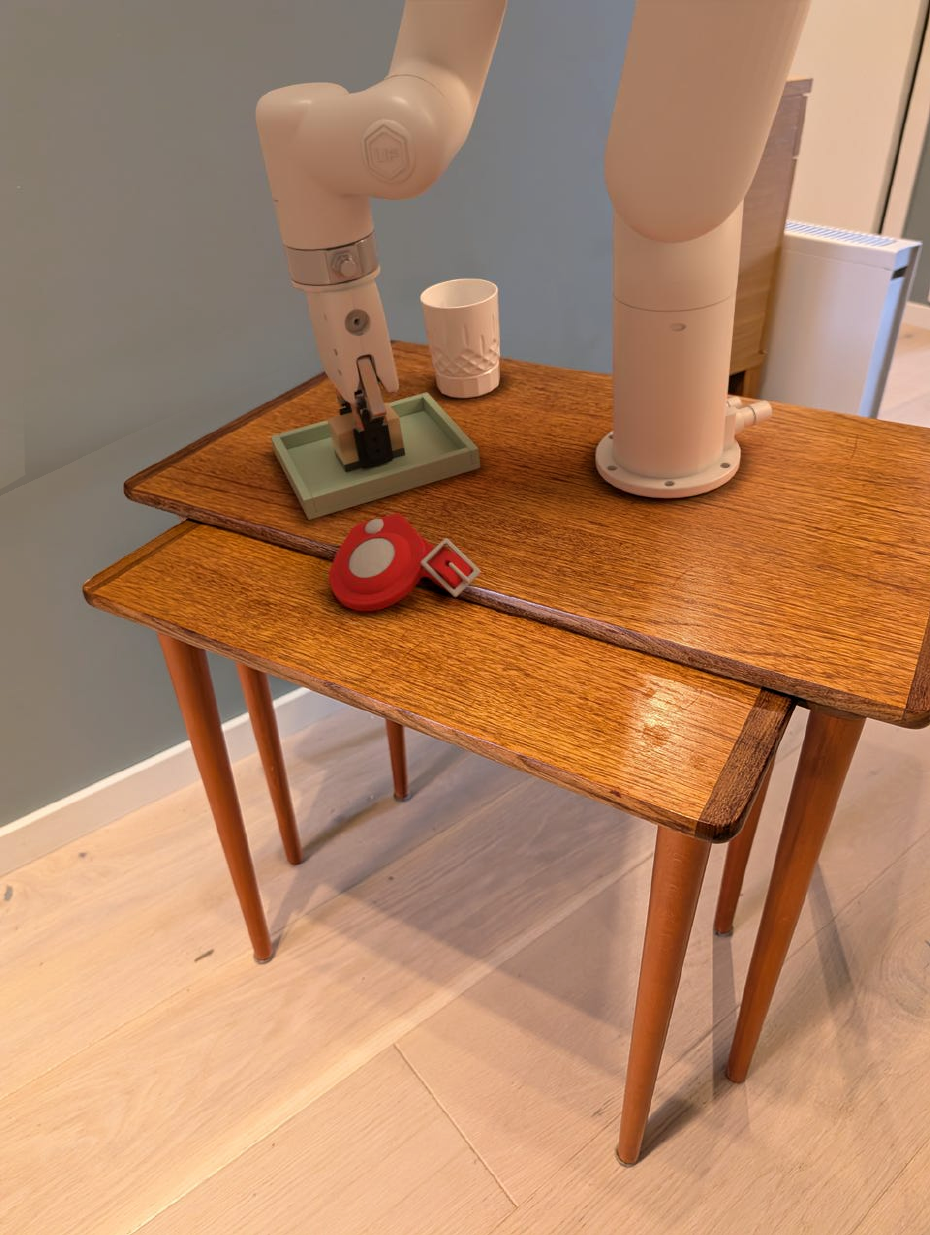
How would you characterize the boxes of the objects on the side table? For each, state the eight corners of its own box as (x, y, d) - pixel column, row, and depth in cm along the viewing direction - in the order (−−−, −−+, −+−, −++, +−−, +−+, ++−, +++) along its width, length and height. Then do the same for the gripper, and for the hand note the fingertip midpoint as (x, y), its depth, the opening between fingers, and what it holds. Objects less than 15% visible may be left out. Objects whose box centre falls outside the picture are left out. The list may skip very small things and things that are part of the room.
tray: (430, 410, 93) (427, 391, 92) (480, 468, 83) (478, 448, 82) (275, 454, 89) (270, 435, 88) (308, 520, 79) (303, 500, 78)
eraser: (393, 439, 88) (387, 402, 85) (405, 455, 85) (399, 417, 83) (335, 456, 87) (327, 418, 84) (345, 472, 84) (337, 434, 81)
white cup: (480, 406, 92) (470, 311, 86) (418, 394, 96) (404, 302, 90) (518, 374, 97) (512, 282, 91) (458, 364, 101) (447, 275, 95)
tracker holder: (320, 613, 67) (323, 515, 73) (345, 644, 70) (346, 548, 76) (473, 571, 64) (463, 473, 70) (492, 605, 68) (481, 509, 74)
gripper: (408, 276, 69) (437, 482, 80) (347, 224, 81) (380, 409, 93) (314, 299, 67) (357, 506, 79) (267, 242, 79) (310, 428, 91)
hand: (369, 451), depth 86 cm, fingers open, 3 cm apart
